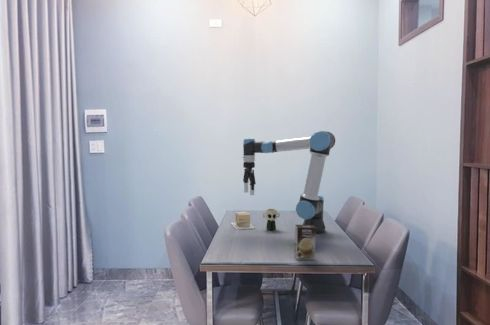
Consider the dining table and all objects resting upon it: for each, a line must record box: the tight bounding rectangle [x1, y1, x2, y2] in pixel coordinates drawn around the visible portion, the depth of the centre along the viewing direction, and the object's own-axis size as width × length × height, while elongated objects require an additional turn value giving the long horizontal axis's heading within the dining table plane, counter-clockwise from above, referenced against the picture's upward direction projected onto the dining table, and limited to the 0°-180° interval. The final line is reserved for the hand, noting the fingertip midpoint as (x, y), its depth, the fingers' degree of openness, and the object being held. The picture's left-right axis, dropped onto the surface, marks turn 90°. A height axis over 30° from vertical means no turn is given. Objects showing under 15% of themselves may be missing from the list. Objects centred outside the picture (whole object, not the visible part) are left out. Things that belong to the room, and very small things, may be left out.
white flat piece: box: [230, 222, 256, 231], centre depth 242 cm, size 16×12×1 cm
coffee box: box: [293, 224, 317, 261], centre depth 177 cm, size 9×6×16 cm
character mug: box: [262, 208, 281, 230], centre depth 235 cm, size 11×7×13 cm, turn 95°
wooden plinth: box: [234, 211, 251, 227], centre depth 242 cm, size 8×8×8 cm
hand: (249, 193), depth 239 cm, fingers open, 13 cm apart
